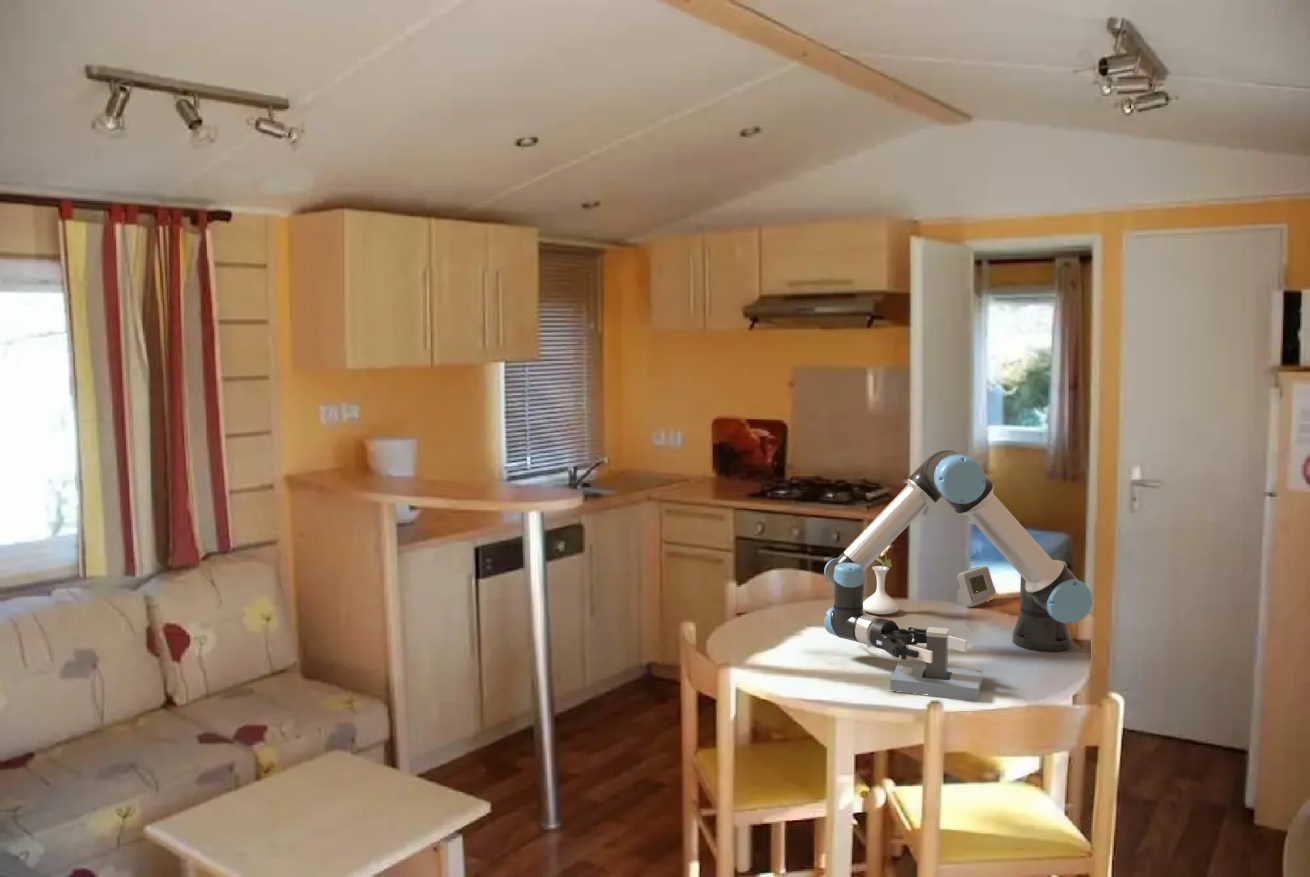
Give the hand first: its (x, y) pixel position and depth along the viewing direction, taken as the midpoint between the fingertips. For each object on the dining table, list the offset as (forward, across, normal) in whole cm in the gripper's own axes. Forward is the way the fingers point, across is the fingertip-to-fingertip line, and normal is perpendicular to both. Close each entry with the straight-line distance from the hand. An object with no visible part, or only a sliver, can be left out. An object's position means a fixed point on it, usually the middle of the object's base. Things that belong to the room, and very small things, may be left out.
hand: (949, 651), depth 254 cm
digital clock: (-43, -76, -10) cm, 88 cm away
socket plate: (-3, 0, -10) cm, 10 cm away
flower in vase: (-55, -43, -10) cm, 70 cm away
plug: (-3, 0, -10) cm, 10 cm away
